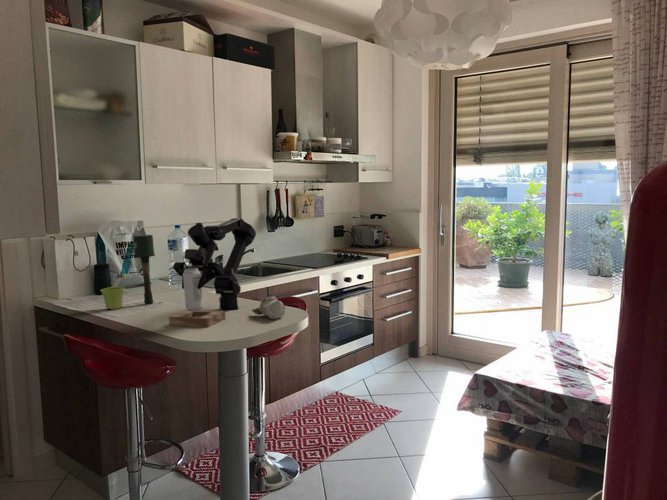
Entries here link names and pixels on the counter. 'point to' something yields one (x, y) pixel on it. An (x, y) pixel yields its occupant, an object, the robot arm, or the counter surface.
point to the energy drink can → (192, 289)
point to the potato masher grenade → (145, 261)
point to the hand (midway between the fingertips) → (190, 288)
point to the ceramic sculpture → (270, 308)
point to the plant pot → (113, 297)
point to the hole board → (197, 318)
